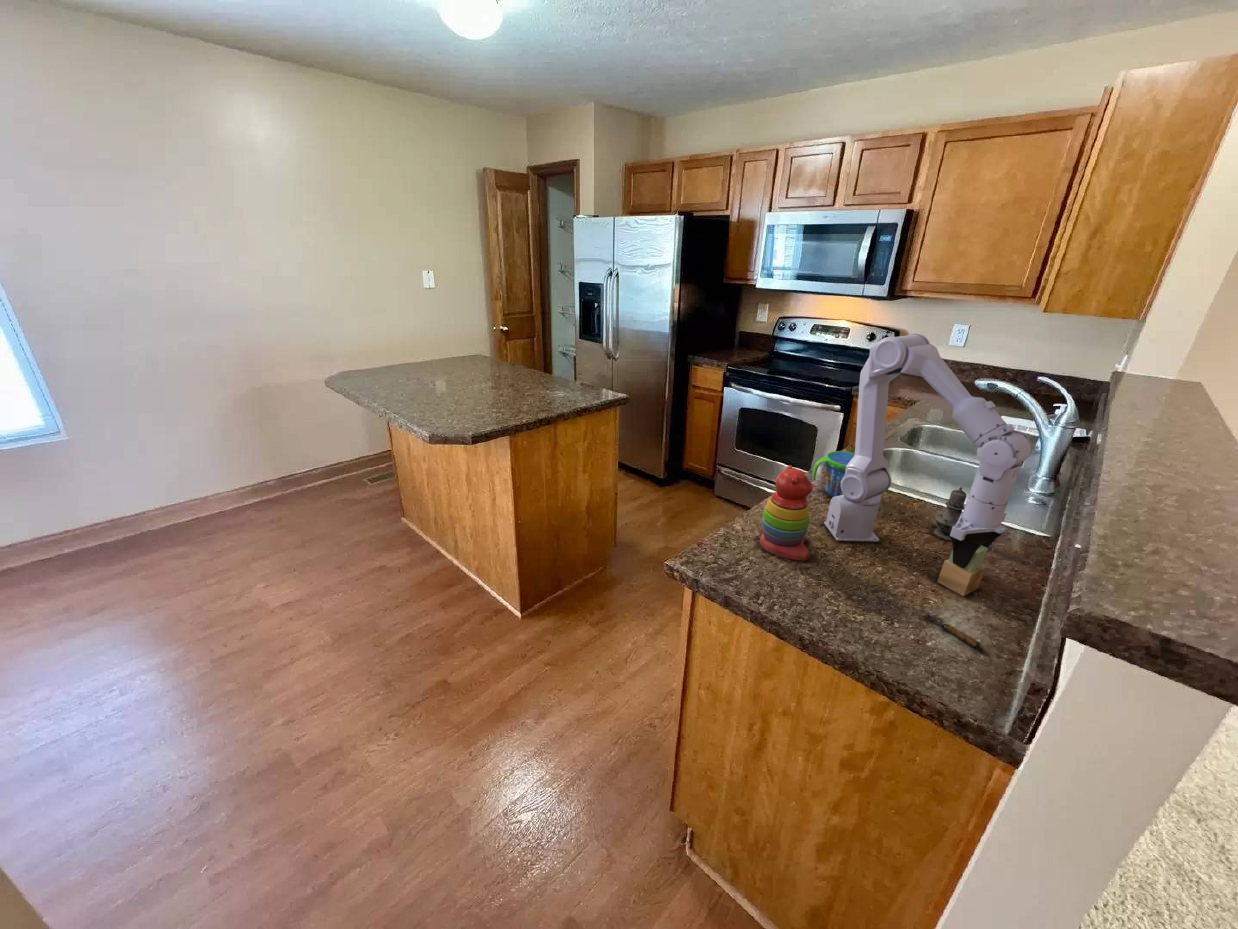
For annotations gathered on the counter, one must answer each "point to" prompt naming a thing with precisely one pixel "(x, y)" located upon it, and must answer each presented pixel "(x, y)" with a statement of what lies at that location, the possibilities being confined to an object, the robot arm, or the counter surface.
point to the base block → (960, 578)
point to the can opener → (955, 631)
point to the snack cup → (834, 470)
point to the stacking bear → (787, 516)
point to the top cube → (974, 559)
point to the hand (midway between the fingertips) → (965, 561)
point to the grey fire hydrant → (950, 514)
